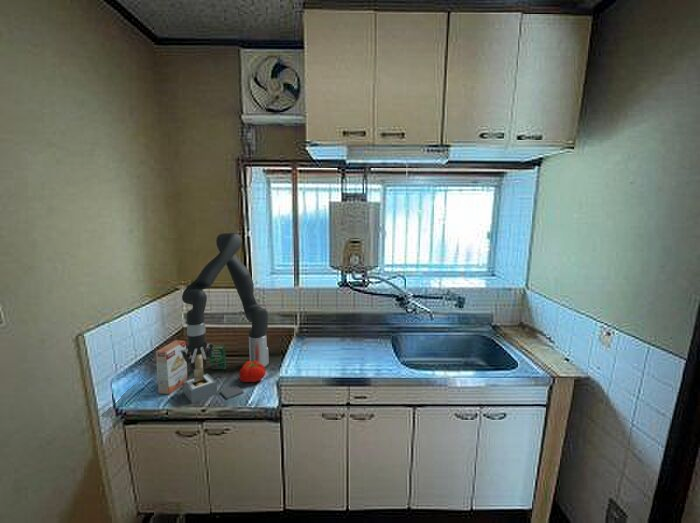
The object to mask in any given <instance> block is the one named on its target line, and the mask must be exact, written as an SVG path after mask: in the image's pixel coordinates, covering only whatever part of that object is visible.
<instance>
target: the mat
mask: <svg viewBox="0 0 700 523" xmlns="http://www.w3.org/2000/svg"><path fill="white" fill-rule="evenodd" d="M219 393H220V394H221V396H223V397H224V398H225V399H226V400H230V399H232V398H235V397H237V396H241V395H242V394H244V393H245V391H244V390H243V389H242V388H241V387H239V385H238V384H235V385H231V386H230V387H227V388H224V389H222V390H219ZM229 398H230V399H229Z"/></svg>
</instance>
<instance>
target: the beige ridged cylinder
mask: <svg viewBox="0 0 700 523" xmlns="http://www.w3.org/2000/svg"><path fill="white" fill-rule="evenodd" d="M194 363H195V370H193V378H194V380H195V381H200V380H202V379H204V374H205V373H204V367H203V356H202V353H201V354H197V355H196V357H195V359H194Z"/></svg>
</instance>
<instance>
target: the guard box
mask: <svg viewBox="0 0 700 523" xmlns="http://www.w3.org/2000/svg"><path fill="white" fill-rule="evenodd" d="M197 383H204V384H201V385H198V386H195V385H196V384H197ZM182 385H183V386H182V387H183V394H184V395H185V396H186V397H187V399H188V400H189V401H190V403H191V404H194V403H197V402H199V401H202V400H205V399H208V398H210V397H214V396H216V395H218V388H217V381H216V380H215V379H214V378H213V377H212V376H211V375H210V374H208V373H204V379H202V380H200V381H195V380H194V377H193V378H189V379H188V380H186V381H183V384H182Z"/></svg>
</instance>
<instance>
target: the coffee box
mask: <svg viewBox="0 0 700 523" xmlns="http://www.w3.org/2000/svg"><path fill="white" fill-rule="evenodd" d="M225 346H226V344H213V348H212V351H211V355H210V357H209V366H210V370H226V368H227V358H226V357H227V356H226V347H225Z"/></svg>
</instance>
